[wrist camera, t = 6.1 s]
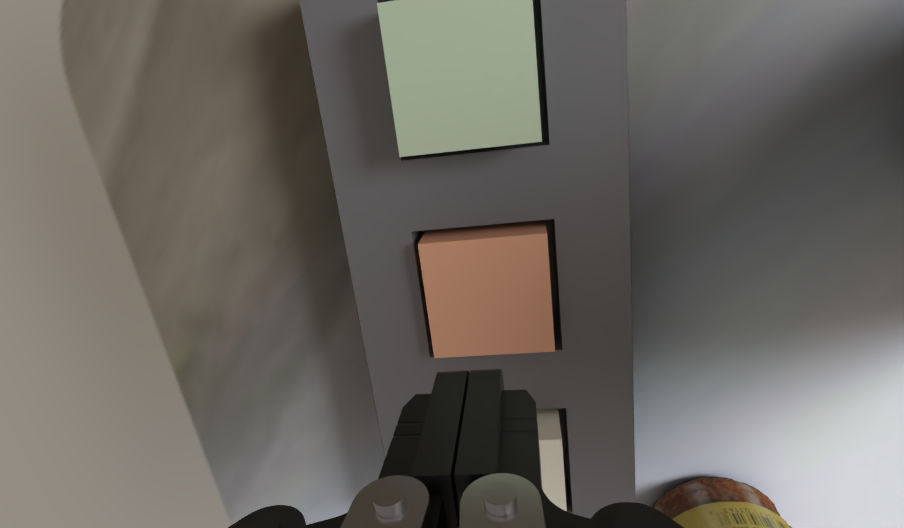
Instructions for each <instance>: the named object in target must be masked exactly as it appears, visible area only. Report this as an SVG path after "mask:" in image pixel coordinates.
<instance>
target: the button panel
mask: <svg viewBox="0 0 904 528" xmlns="http://www.w3.org/2000/svg"><path fill="white" fill-rule="evenodd" d="M387 1H394V0H299V2H300V8H301V13H302V18H303V24H304V29H305V34H306V40H307V45H308V50H309V55H310V61H311V66H312V71H313V77H314V82H315V87H316V93H317V98H318V103H319V109H320V114H321V119H322V125H323V130H324V135H325V141H326V146H327V151H328V156H329V162H330V167H331V172H332V178H333V183H334V188H335V194H336V199H337V204H338V210H339V215H340V220H341V226H342V231H343V236H344V242H345V247H346V252H347V257H348V263H349V268H350V273H351V279H352V284H353V289H354V295H355V300H356V305H357V311H358V316H359V321H360V327H361V332H362V337H363V343H364V348H365V353H366V358H367V364H368V369H369V374H370V380H371V385H372V390H373V396H374V401H375V406H376V412H377V417H378V422H379V428H380V433H381V438H382V444H383V449H384V454H385V458H386V455H387V452H388V449H389V446H390V443H391V440H392V438H393V434H394V431H395V428H396V425H398V423H397V422H398V420H399V417H400V414H401V411H402V408H403V407H404V406H405V405H406V404H407V403H408V402H409V401H410V400H411V399H412V398H413V396H414V395H415V394H431V393H432V389H433V385H434V382H435V378H436V374H437V372H445V371H466V370H468V371H469V373H470V371H471V370H484V369H502V372H503V380H504V390H524V389H526V390H527V392H528V393H529V394H530V396H531V397H532V398H533V399H534V401H535V402H536V409H557V408H558V413H559V421H560V428H561V436H562V447H563V462H564V477H565V492H566V507H567V512H569V513H572V514H575V515H578V516H582V517H586V518H590V519H591V518H592V516H593V515H594V514H595V513H596V512H597V511H598V510H600V509H601V508H603V507H605V506H607V505H610V504H613V503H619V502H635V459H634V404H633V349H632V294H631V240H630V185H629V130H628V76H627V21H626V0H533V13H534V28H535V43H536V58H537V73H538V88H539V103H540V118H541V133H542V142H534V143H525V144H516V145H507V146H498V147H488V148H479V149H470V150H461V151H452V152H442V153H433V154H424V155H415V156H406V157H399V150H398V143H397V137H396V130H395V123H394V116H393V110H392V103H391V96H390V89H389V83H388V76H387V69H386V62H385V56H384V49H383V42H382V35H381V29H380V22H379V15H378V8H377V3H381V2H387ZM536 220H544V221H545V225H546V230H547V238H548V253H549V268H550V282H551V297H552V312H553V327H554V342H555V352H538V353H520V354H502V355H484V356H465V357H447V358H434V353H433V346H432V339H431V332H430V325H429V318H428V311H427V305H426V298H425V291H424V284H423V277H422V270H421V263H420V256H419V249H418V243H419V241H420V240H421V238H422V236H423V234H424V233H425V231H426V230H435V229H447V228H458V227H469V226H480V225H491V224H503V223H514V222H525V221H536Z"/></svg>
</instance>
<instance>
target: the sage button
mask: <svg viewBox="0 0 904 528" xmlns="http://www.w3.org/2000/svg"><path fill="white" fill-rule="evenodd" d="M377 8H378V15H379V22H380V29H381V35H382V42H383V49H384V56H385V62H386V69H387V76H388V83H389V89H390V96H391V103H392V110H393V116H394V123H395V130H396V137H397V143H398V150H399V157H406V156H415V155H424V154H433V153H442V152H452V151H461V150H470V149H479V148H488V147H498V146H507V145H516V144H525V143H534V142H542V133H541V118H540V103H539V88H538V73H537V58H536V43H535V28H534V13H533V0H394V1H387V2H381V3H377Z"/></svg>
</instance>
